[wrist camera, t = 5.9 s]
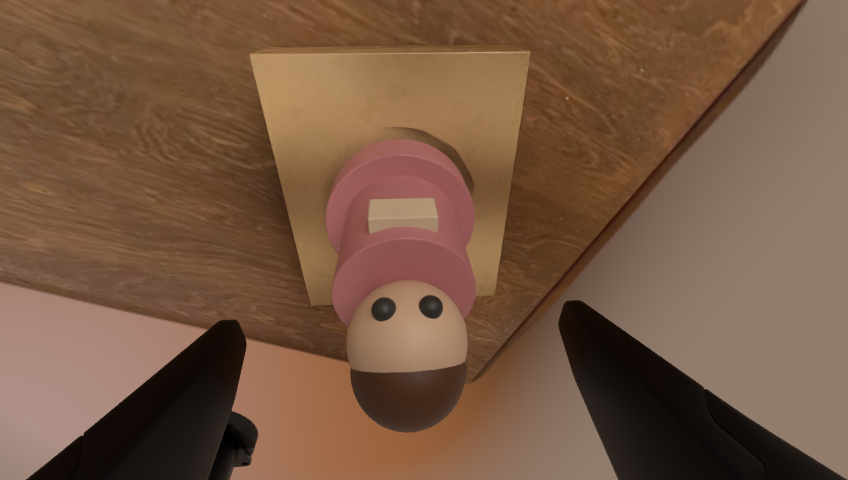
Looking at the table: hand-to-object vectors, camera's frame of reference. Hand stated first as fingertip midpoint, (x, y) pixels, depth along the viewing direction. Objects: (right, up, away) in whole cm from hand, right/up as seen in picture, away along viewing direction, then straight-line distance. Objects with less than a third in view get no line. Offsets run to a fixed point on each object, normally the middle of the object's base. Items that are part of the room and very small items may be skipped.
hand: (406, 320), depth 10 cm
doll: (-1, +4, +6) cm, 7 cm away
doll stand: (-1, +5, +8) cm, 10 cm away
